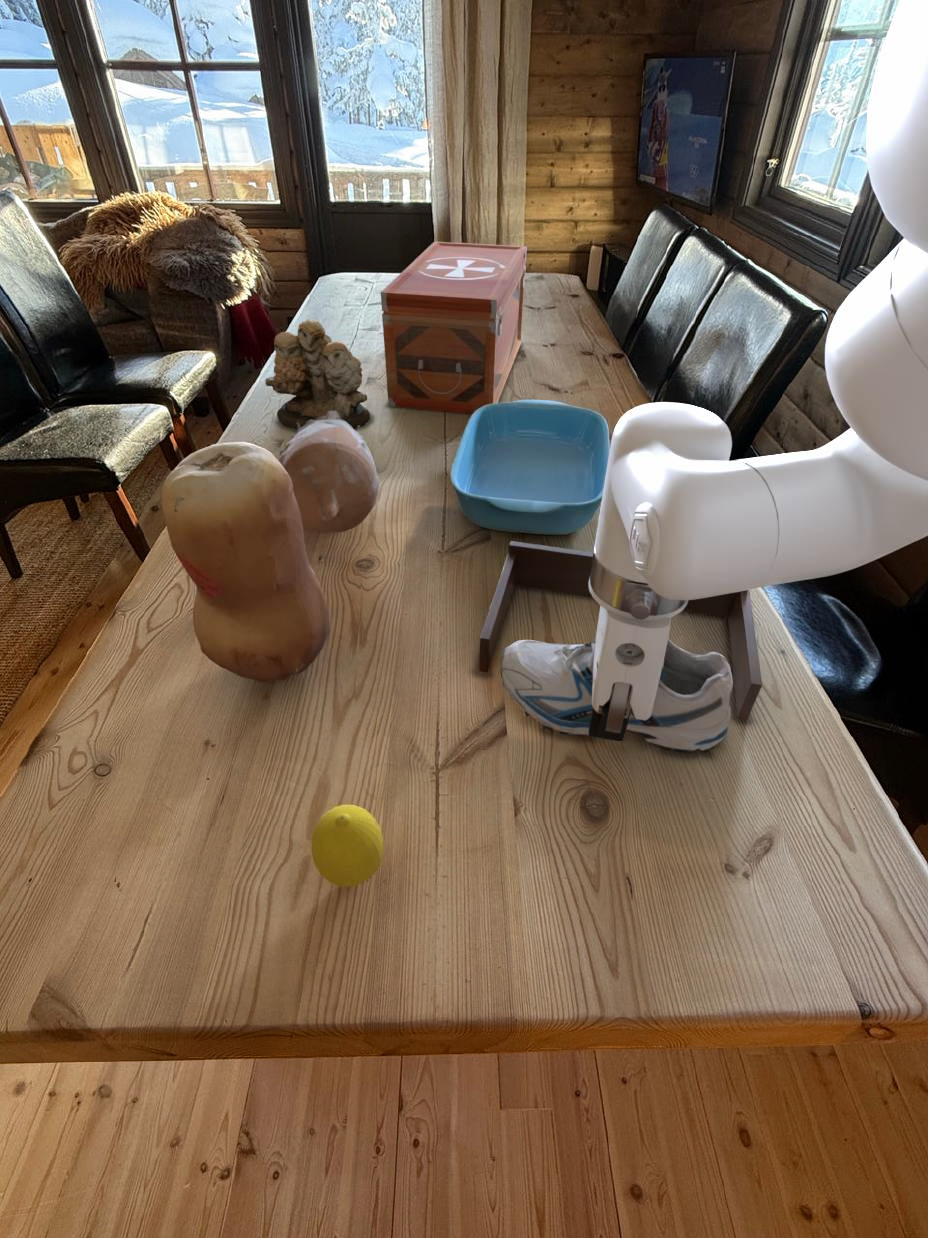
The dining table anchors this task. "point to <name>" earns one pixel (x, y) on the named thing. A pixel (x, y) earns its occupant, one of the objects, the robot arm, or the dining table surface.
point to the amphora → (331, 474)
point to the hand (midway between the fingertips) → (606, 732)
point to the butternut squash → (246, 561)
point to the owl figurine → (316, 378)
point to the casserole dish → (531, 466)
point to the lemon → (347, 845)
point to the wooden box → (453, 326)
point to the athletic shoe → (681, 715)
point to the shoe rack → (572, 576)
